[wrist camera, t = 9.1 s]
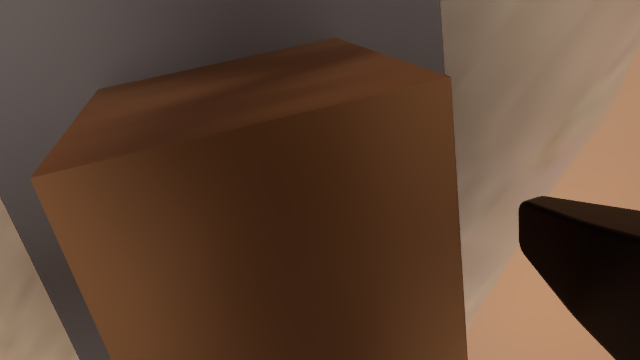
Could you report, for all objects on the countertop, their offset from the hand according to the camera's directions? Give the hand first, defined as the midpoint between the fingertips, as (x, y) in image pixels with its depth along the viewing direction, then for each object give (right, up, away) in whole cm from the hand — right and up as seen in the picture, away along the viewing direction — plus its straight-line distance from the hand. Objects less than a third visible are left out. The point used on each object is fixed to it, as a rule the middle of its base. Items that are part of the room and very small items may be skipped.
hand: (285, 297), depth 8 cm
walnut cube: (-1, +2, +5) cm, 6 cm away
